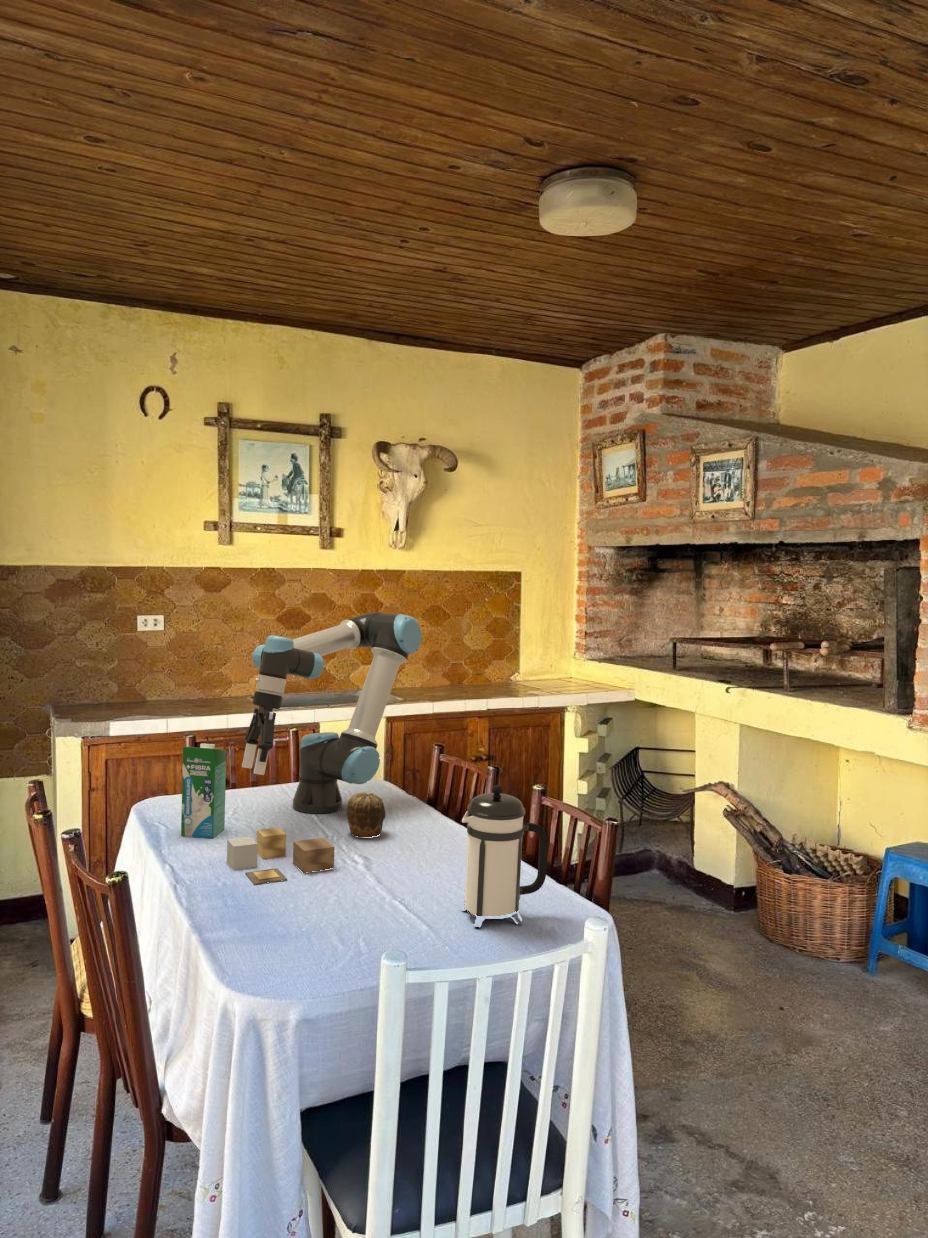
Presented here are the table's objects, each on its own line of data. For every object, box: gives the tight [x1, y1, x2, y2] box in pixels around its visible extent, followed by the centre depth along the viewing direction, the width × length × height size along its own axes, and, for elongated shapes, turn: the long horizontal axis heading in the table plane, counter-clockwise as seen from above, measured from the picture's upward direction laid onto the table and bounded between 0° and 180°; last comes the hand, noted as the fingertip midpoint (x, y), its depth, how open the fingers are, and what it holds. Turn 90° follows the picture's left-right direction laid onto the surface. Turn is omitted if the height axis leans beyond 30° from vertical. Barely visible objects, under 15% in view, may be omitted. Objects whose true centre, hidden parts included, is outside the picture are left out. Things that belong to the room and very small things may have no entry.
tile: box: [245, 867, 288, 886], centre depth 222 cm, size 8×8×1 cm
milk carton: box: [180, 743, 227, 839], centre depth 253 cm, size 9×9×25 cm
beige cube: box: [226, 836, 258, 871], centre depth 230 cm, size 6×6×6 cm
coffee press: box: [461, 784, 549, 916], centre depth 203 cm, size 17×16×30 cm
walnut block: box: [292, 837, 336, 874], centre depth 231 cm, size 8×8×6 cm
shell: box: [346, 791, 386, 837], centre depth 258 cm, size 11×11×12 cm
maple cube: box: [256, 827, 287, 860], centre depth 239 cm, size 6×6×6 cm
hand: (252, 771), depth 245 cm, fingers open, 13 cm apart
